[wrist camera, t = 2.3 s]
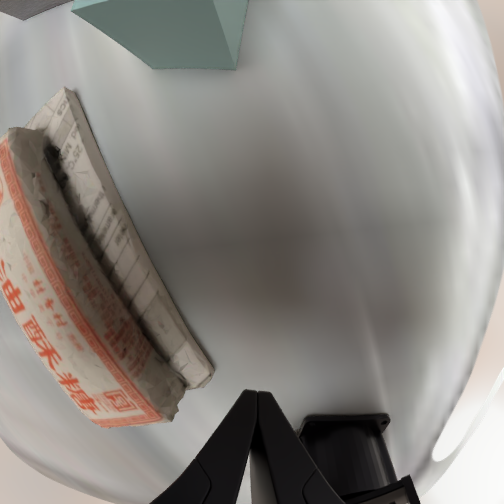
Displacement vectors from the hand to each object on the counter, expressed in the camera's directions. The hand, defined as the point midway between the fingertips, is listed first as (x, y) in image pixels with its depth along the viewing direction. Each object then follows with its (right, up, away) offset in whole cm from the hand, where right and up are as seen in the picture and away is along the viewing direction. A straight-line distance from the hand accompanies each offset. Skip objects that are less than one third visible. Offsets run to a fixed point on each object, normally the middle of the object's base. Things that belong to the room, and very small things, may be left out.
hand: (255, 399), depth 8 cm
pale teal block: (-2, +15, +2) cm, 16 cm away
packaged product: (-10, +4, +7) cm, 13 cm away
